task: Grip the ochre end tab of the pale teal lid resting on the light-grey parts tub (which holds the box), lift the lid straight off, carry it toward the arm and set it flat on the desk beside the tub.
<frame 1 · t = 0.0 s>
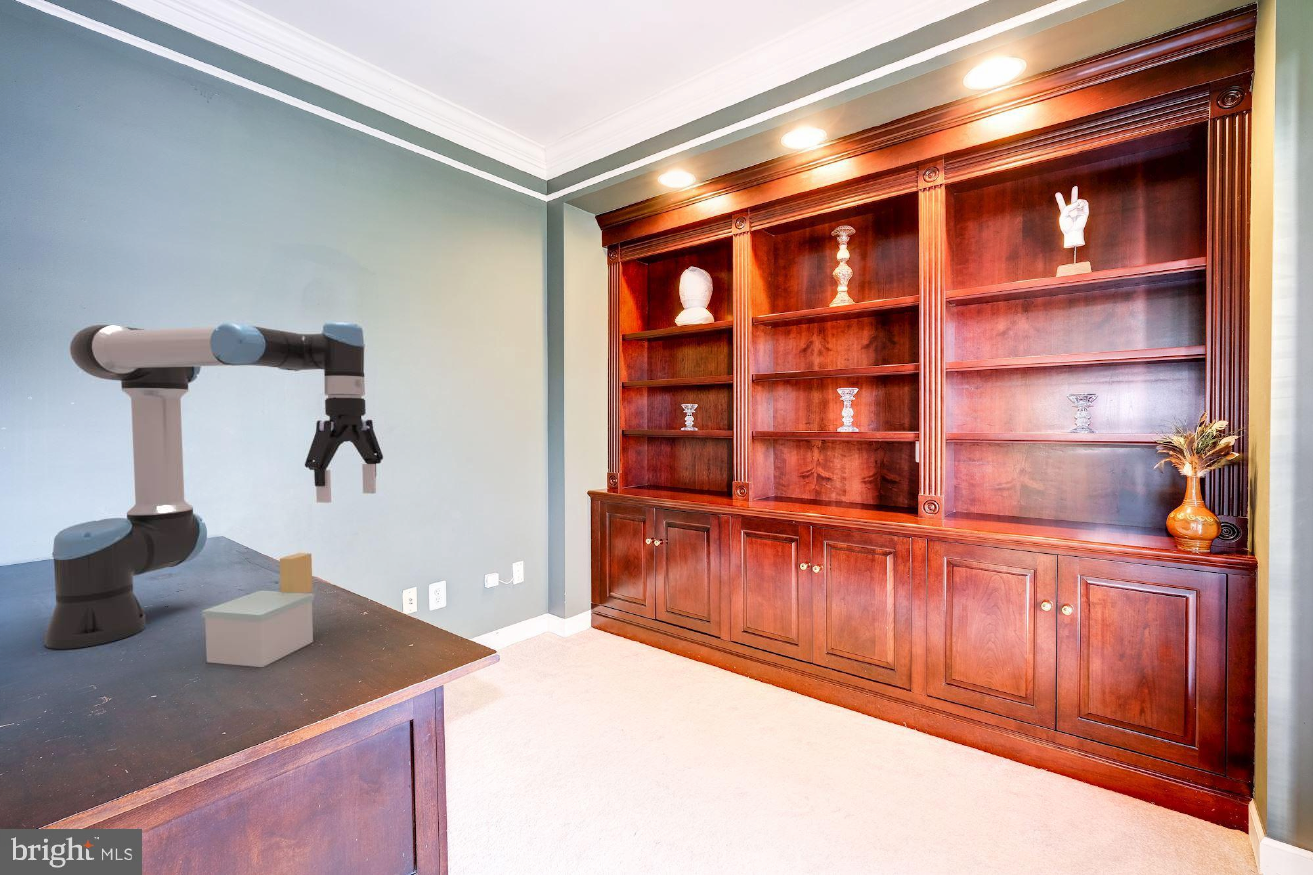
hand: (347, 497, 125), 28 cm above the table, fingers open, 13 cm apart
lid: (260, 608, 113), point 8 cm above the table, touching tub
tub: (262, 651, 113), on the table
box: (262, 653, 113), resting in tub
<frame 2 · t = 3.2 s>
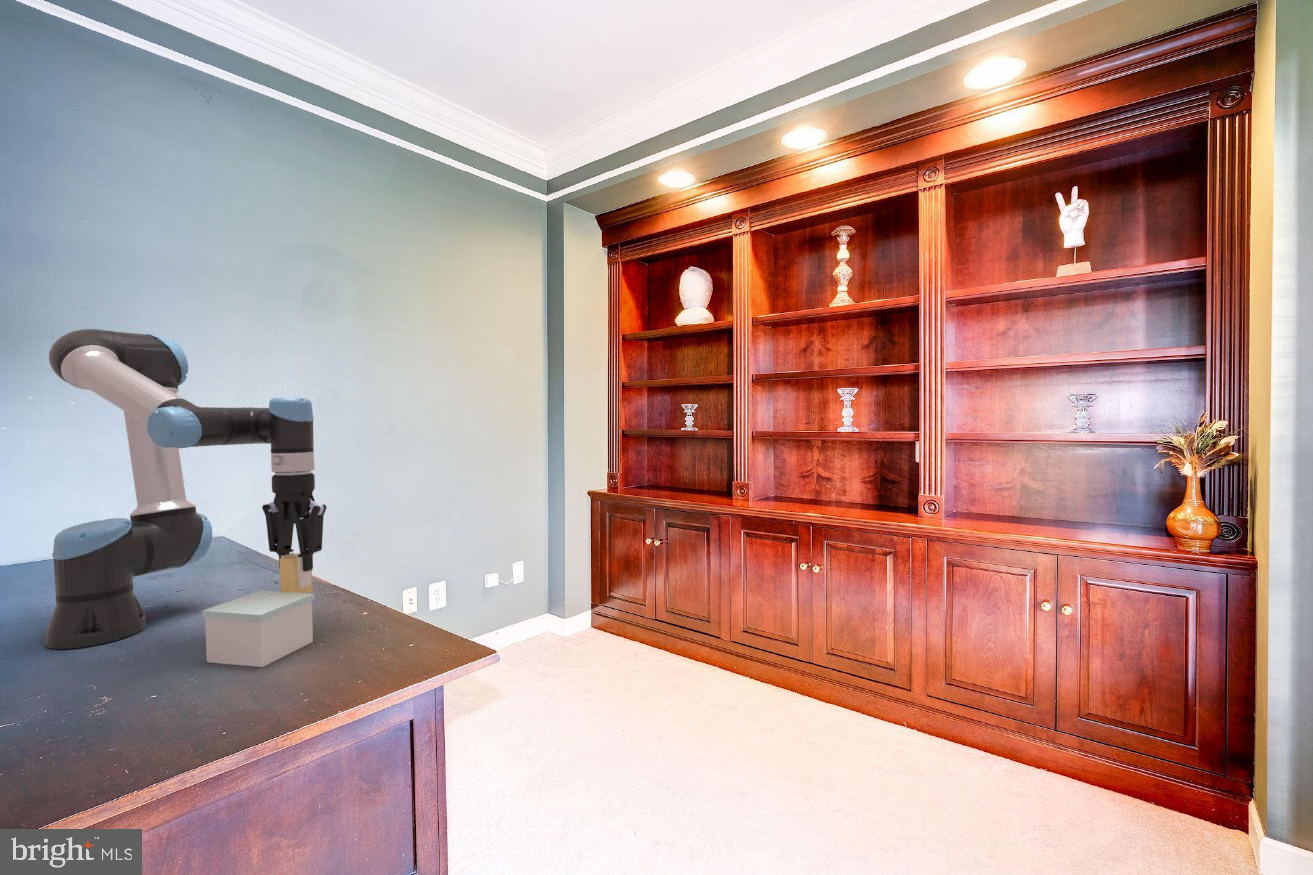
hand: (296, 585, 122), 10 cm above the table, fingers closed on lid, 3 cm apart
lid: (260, 608, 113), point 8 cm above the table, touching gripper, tub
everything else where it was.
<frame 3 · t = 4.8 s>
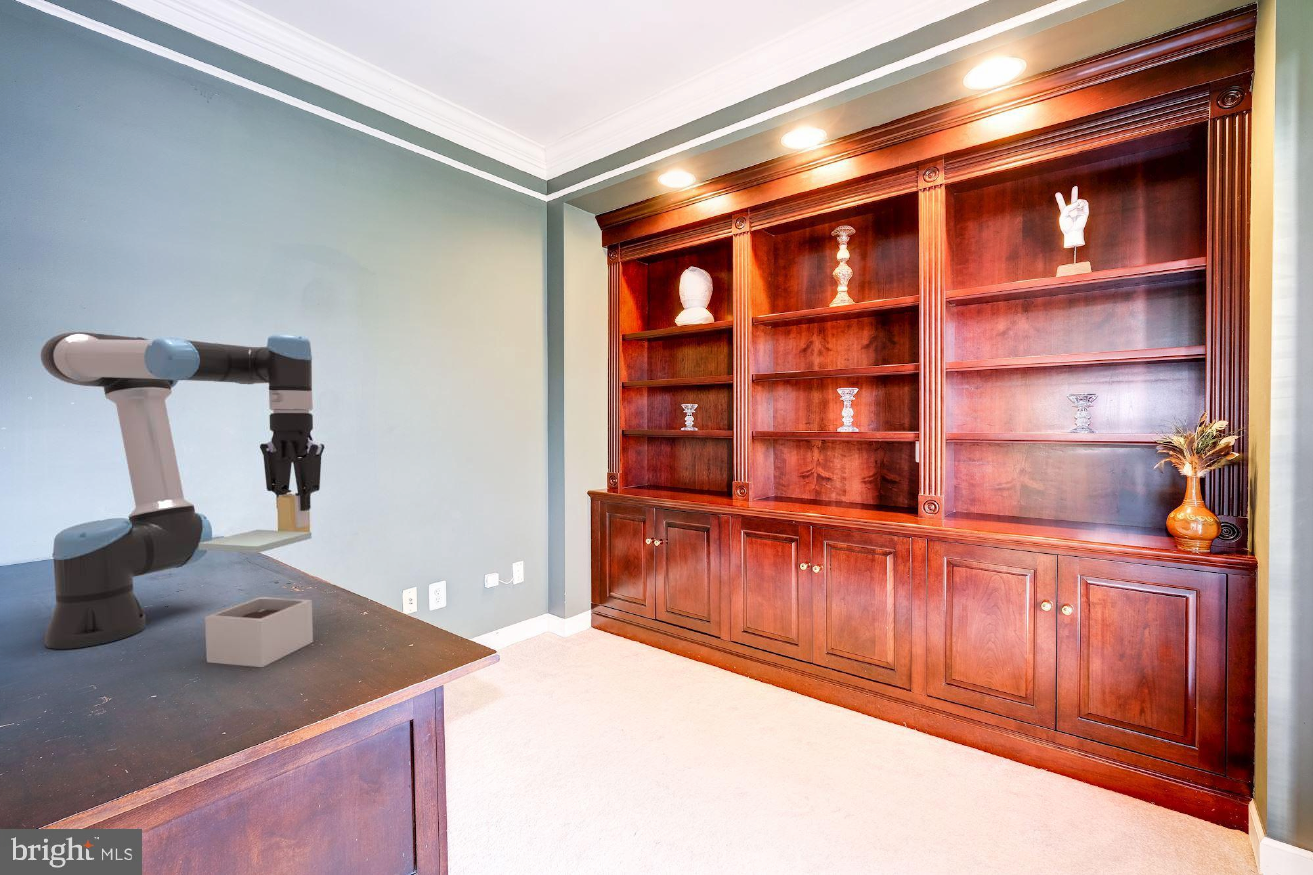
hand: (294, 525, 121), 23 cm above the table, fingers closed on lid, 3 cm apart
lid: (257, 543, 113), point 21 cm above the table, touching gripper
everything else where it was.
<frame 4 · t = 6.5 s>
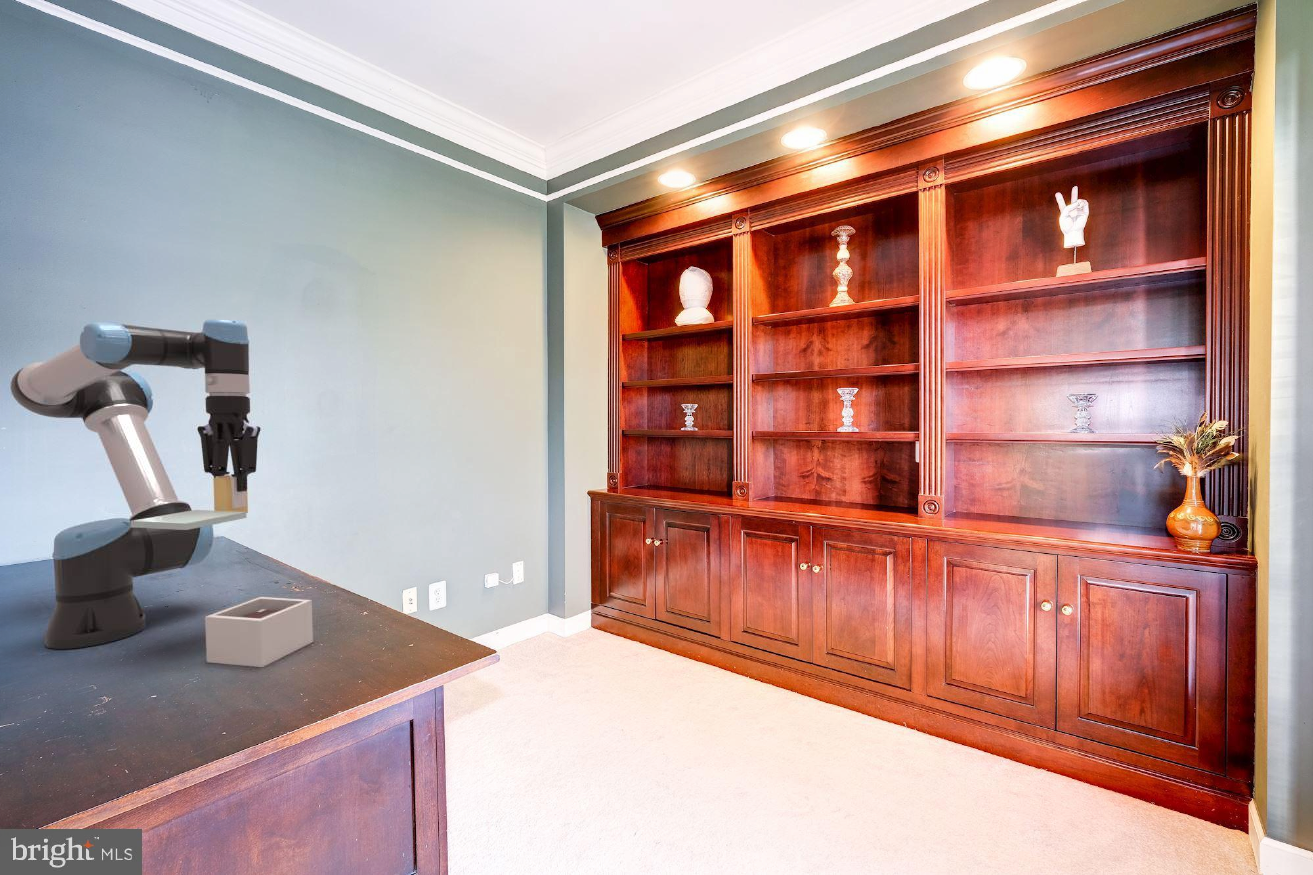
hand: (231, 506, 124), 26 cm above the table, fingers closed on lid, 3 cm apart
lid: (191, 522, 115), point 25 cm above the table, touching gripper
everything else where it was.
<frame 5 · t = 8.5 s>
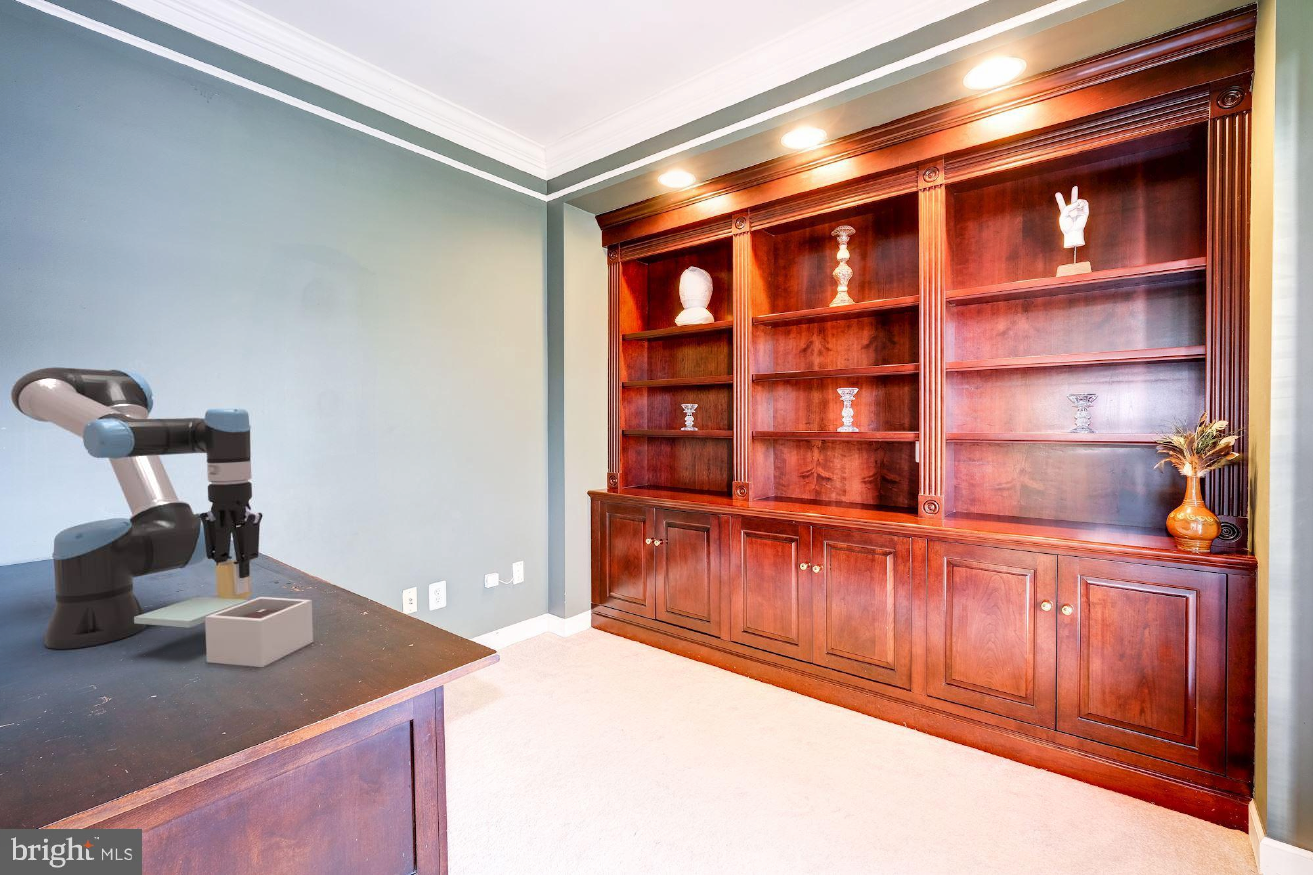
hand: (233, 592, 125), 8 cm above the table, fingers closed on lid, 3 cm apart
lid: (194, 614, 116), point 6 cm above the table, touching gripper
everything else where it was.
when the fingers open (3 cm above the table, at t = 10.0 s): lid drops 2 cm, on the table.
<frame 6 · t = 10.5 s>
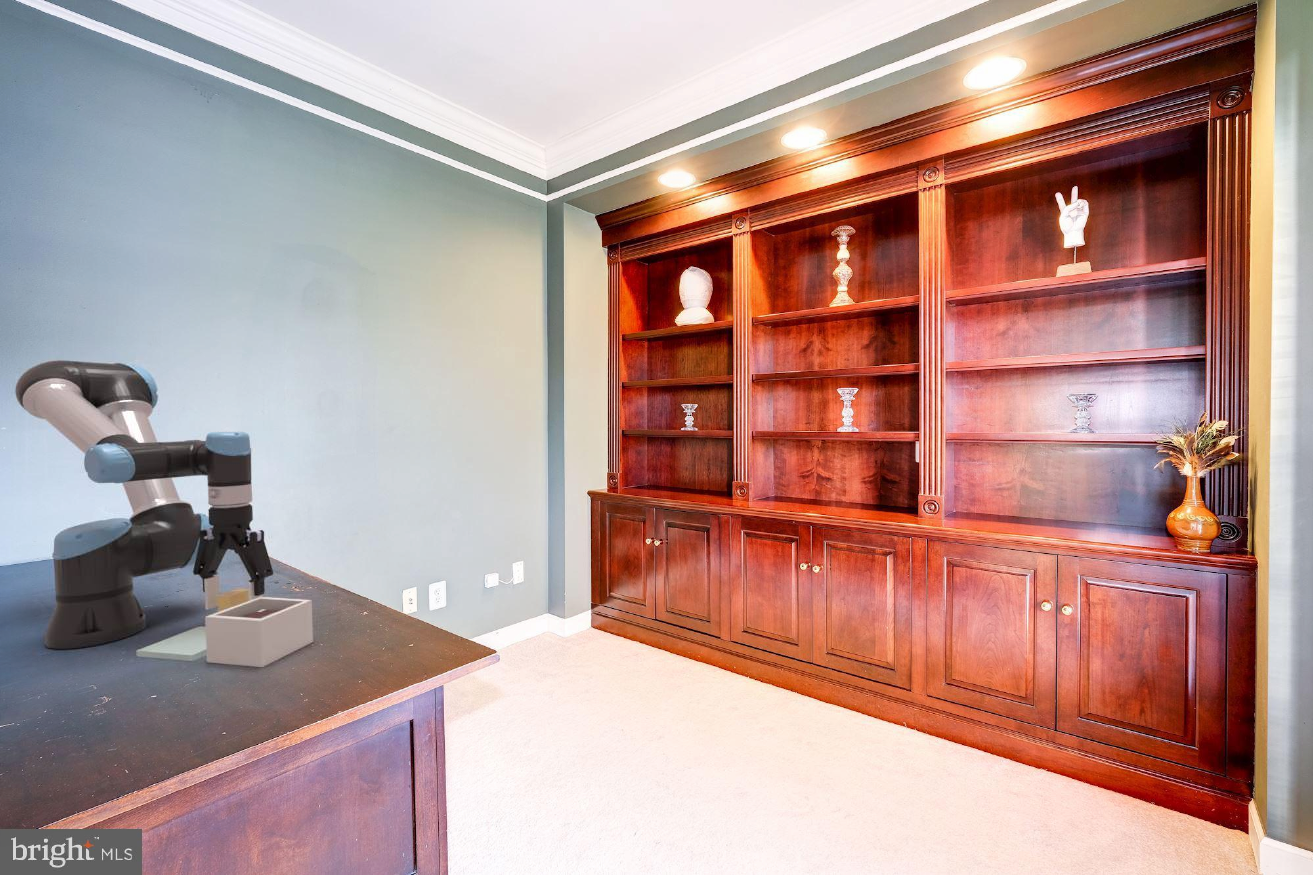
hand: (234, 608, 125), 4 cm above the table, fingers open, 10 cm apart
lid: (196, 645, 116), on the table
everything else where it was.
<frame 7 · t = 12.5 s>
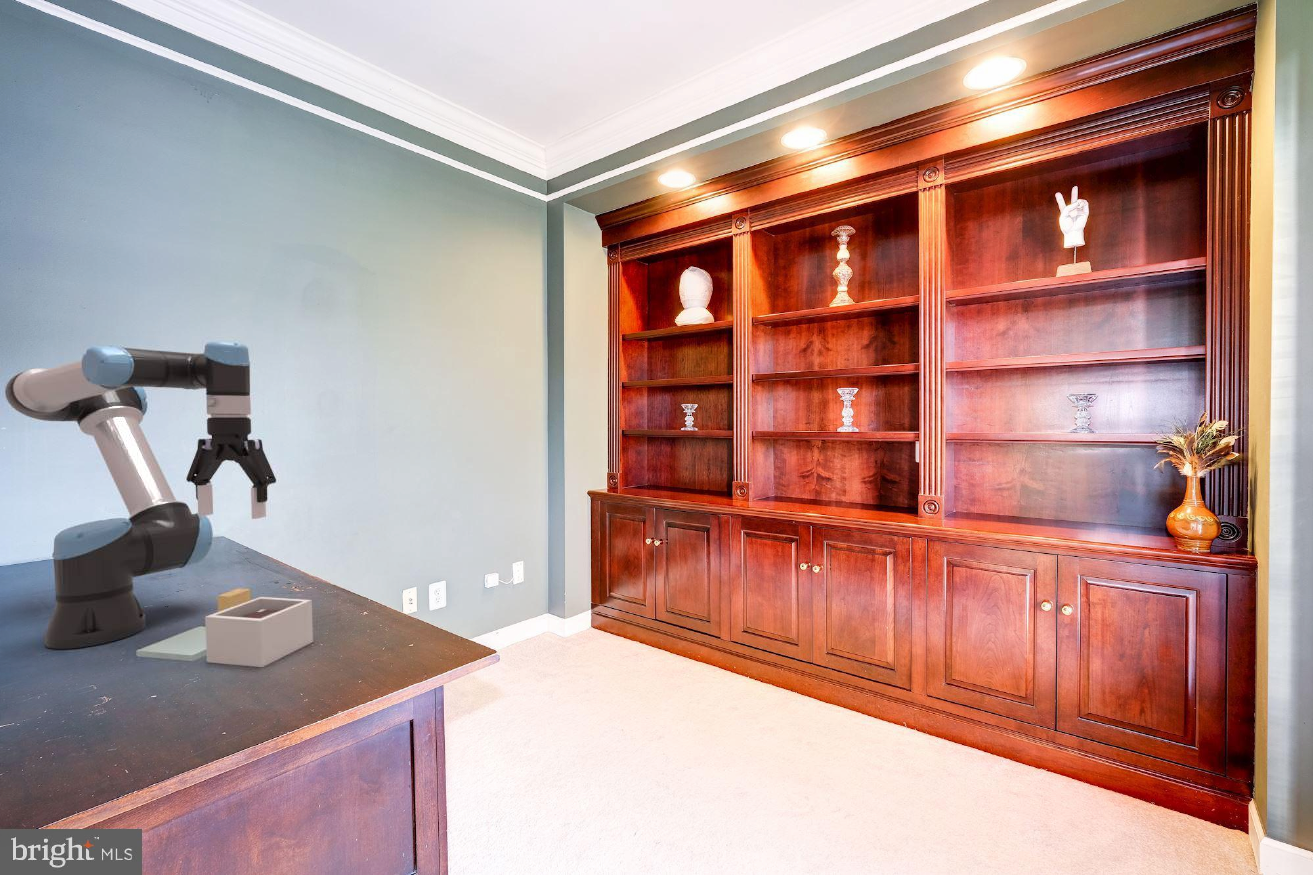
hand: (232, 516, 125), 24 cm above the table, fingers open, 13 cm apart
nothing on the table moved.
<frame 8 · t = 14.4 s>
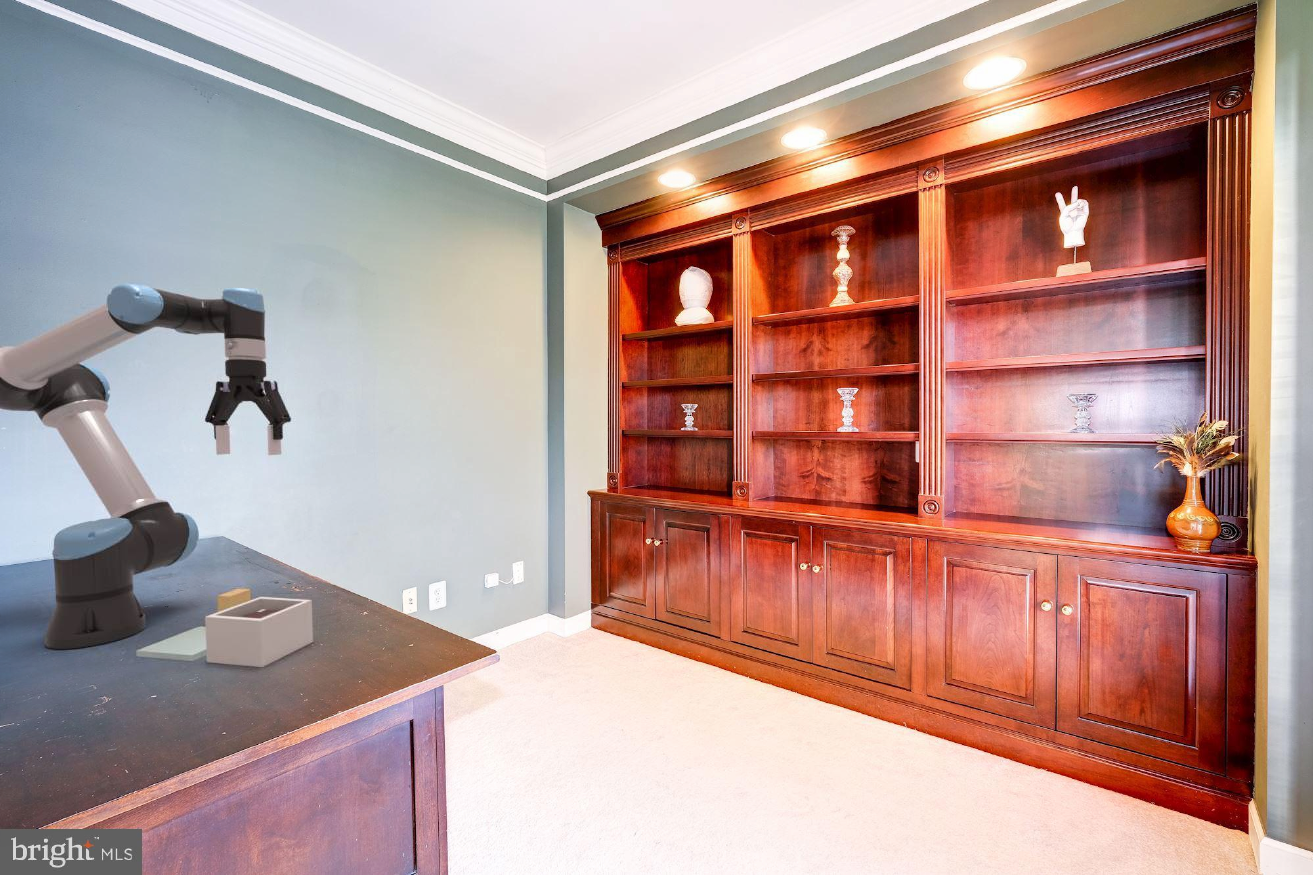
hand: (248, 454, 132), 37 cm above the table, fingers open, 13 cm apart
nothing on the table moved.
at the end: lid inside the target area (0.5 cm from its centre), on the table; lid touching table; lid tilted 0° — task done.
